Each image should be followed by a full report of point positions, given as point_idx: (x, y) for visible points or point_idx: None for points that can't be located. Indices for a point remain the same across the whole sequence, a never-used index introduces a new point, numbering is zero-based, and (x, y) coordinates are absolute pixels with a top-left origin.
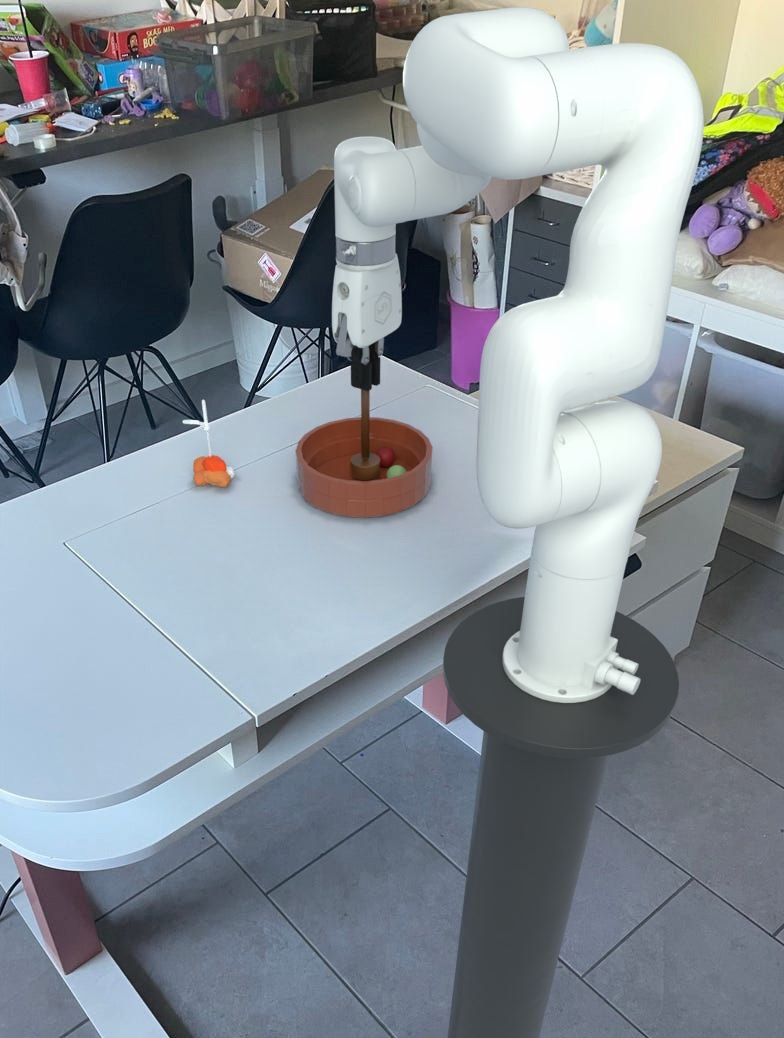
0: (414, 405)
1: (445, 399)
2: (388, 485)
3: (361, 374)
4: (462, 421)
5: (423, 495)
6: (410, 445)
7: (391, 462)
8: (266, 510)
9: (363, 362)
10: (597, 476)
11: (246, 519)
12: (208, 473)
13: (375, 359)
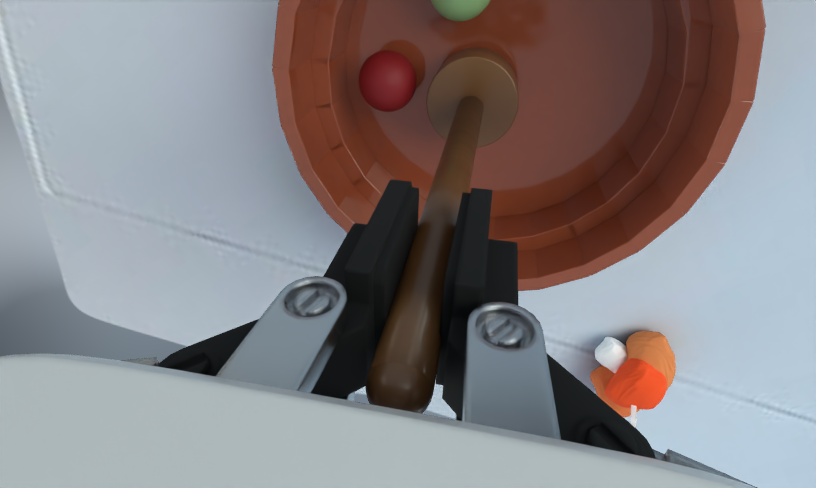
0: (123, 172)
1: (48, 125)
2: None
3: (517, 280)
4: (74, 27)
5: None
6: (314, 33)
7: (395, 52)
8: (715, 223)
9: (542, 330)
10: None
11: (774, 241)
12: (671, 380)
13: (380, 284)
